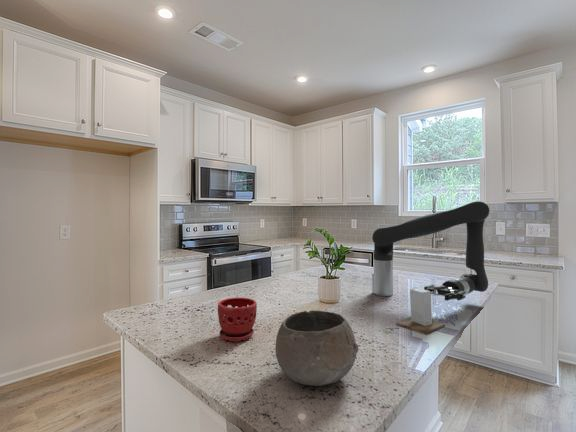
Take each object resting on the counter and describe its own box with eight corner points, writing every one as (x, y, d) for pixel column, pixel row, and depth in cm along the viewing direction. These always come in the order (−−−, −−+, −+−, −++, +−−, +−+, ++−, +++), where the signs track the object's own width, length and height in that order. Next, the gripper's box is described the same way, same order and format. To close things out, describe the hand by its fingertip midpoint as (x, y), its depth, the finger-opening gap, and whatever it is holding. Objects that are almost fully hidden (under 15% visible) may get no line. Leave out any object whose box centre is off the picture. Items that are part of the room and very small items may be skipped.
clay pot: (296, 410, 68) (295, 341, 68) (264, 367, 87) (263, 312, 87) (375, 387, 77) (374, 325, 76) (330, 351, 96) (329, 302, 95)
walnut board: (396, 324, 117) (396, 322, 117) (414, 317, 124) (414, 315, 124) (426, 334, 107) (426, 332, 107) (445, 326, 114) (445, 324, 114)
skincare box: (432, 324, 114) (432, 290, 114) (423, 326, 112) (423, 292, 112) (418, 319, 120) (418, 287, 120) (409, 321, 118) (409, 288, 117)
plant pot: (240, 347, 100) (239, 310, 99) (210, 339, 107) (209, 304, 106) (264, 333, 111) (264, 299, 110) (236, 326, 118) (235, 294, 117)
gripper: (438, 276, 137) (417, 282, 127) (473, 282, 125) (453, 289, 115) (438, 293, 137) (417, 300, 127) (474, 301, 125) (453, 309, 116)
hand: (434, 295), depth 121 cm, fingers open, 8 cm apart
